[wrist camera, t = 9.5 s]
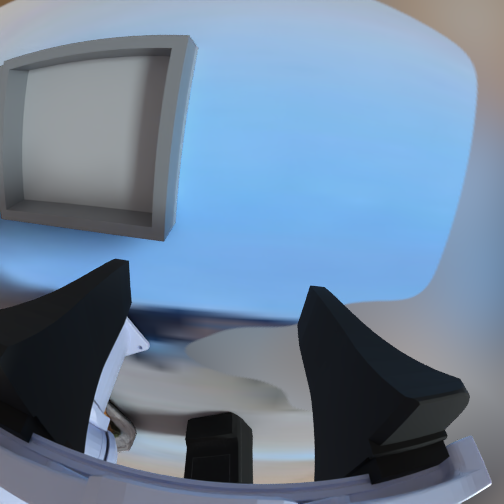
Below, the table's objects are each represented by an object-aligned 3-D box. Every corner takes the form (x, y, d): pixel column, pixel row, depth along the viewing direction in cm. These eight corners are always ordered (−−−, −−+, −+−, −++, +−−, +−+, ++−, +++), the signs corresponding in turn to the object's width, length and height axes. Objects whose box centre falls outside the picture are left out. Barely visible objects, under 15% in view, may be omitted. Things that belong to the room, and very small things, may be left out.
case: (198, 48, 14) (189, 35, 12) (175, 222, 20) (164, 241, 17) (29, 63, 13) (4, 61, 10) (24, 204, 18) (1, 218, 15)
